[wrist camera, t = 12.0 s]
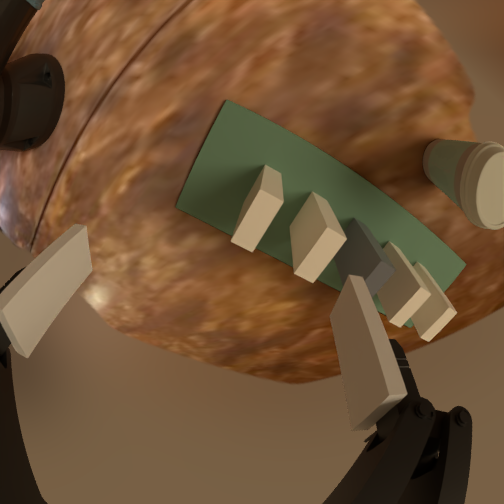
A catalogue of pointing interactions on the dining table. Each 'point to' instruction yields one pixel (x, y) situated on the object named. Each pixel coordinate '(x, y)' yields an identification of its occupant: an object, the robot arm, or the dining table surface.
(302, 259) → the domino
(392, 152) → the dining table surface
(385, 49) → the dining table surface
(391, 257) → the domino
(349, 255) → the slate domino
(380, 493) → the robot arm
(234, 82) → the dining table surface
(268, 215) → the domino
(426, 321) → the domino
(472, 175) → the coffee cup
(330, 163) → the mat
